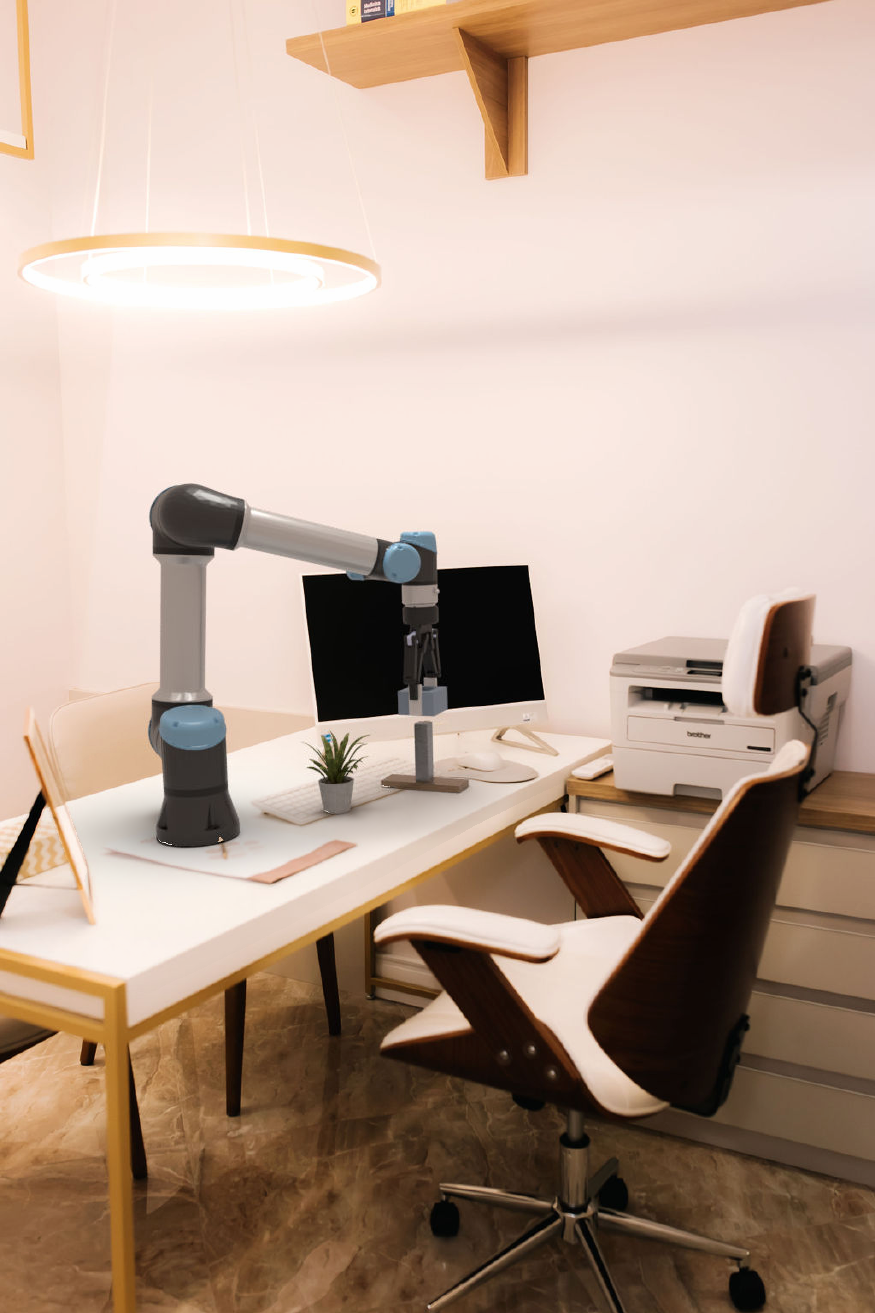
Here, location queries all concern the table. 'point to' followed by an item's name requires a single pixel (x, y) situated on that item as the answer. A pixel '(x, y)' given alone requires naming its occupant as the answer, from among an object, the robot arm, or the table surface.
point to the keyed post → (425, 767)
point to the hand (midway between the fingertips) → (423, 711)
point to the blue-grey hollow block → (425, 701)
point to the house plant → (336, 775)
